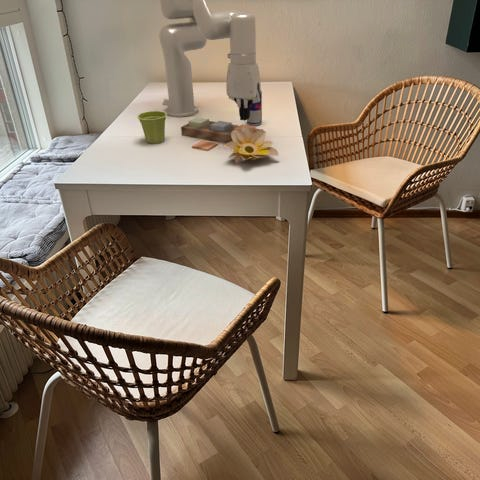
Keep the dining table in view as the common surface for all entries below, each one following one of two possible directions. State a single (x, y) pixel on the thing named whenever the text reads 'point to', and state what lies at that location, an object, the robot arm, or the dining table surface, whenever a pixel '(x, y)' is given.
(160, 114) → the plant pot
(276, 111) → the dining table surface
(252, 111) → the energy drink
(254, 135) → the decorative flower
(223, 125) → the slate button
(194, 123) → the sage button
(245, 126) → the terracotta button
